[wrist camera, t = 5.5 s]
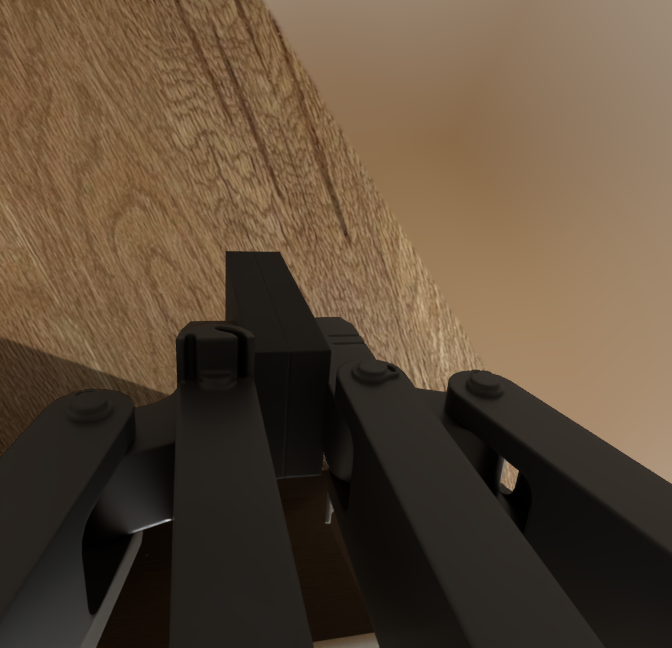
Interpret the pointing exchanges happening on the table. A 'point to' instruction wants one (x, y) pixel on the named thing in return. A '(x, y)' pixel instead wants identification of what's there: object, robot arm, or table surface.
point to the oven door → (311, 564)
